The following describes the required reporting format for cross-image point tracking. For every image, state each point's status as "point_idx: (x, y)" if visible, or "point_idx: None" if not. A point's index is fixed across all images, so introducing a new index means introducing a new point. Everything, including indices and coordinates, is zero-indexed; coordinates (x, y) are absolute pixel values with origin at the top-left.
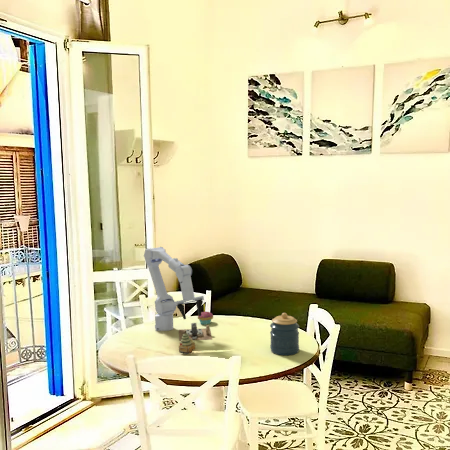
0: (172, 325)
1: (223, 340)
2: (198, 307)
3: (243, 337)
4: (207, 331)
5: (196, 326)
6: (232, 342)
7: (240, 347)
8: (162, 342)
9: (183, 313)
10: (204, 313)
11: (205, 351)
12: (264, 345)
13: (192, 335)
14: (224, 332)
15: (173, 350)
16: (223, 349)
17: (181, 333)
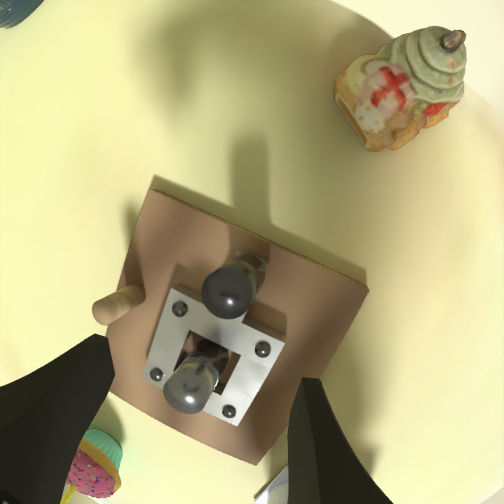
0: (280, 500)
1: (99, 173)
2: (47, 418)
3: (21, 172)
4: (128, 293)
5: (175, 371)
6: (81, 120)
7: (96, 38)
8: (440, 353)
9: (338, 438)
10: (77, 475)
11: (283, 41)
12: (28, 44)
13: (264, 274)
14: (54, 297)
15: (457, 171)
16: (175, 32)
17: (276, 414)
